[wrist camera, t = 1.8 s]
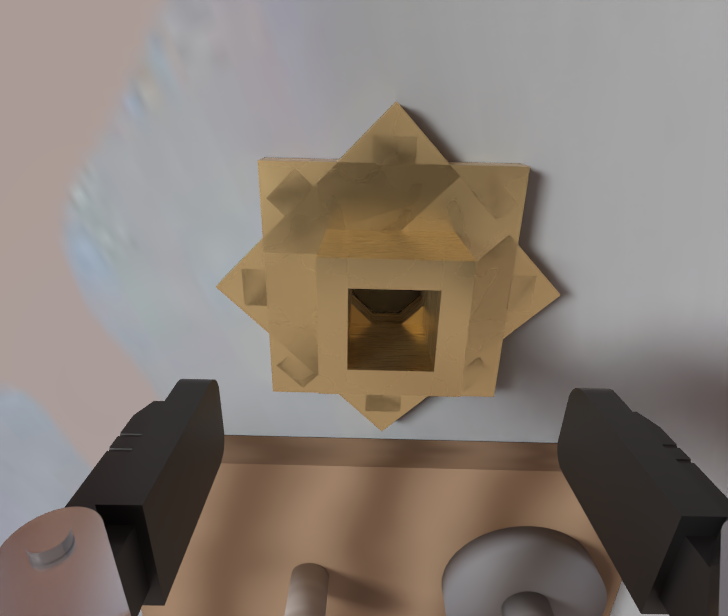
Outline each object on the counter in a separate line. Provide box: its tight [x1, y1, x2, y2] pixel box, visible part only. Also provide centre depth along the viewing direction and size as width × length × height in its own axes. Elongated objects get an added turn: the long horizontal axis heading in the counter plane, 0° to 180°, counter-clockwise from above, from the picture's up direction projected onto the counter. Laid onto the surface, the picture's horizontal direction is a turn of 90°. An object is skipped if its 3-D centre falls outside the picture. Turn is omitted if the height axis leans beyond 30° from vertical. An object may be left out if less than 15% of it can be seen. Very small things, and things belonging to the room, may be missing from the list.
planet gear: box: [216, 102, 560, 431], centre depth 17 cm, size 14×14×5 cm
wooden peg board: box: [141, 435, 622, 616], centre depth 23 cm, size 26×15×7 cm, turn 89°
